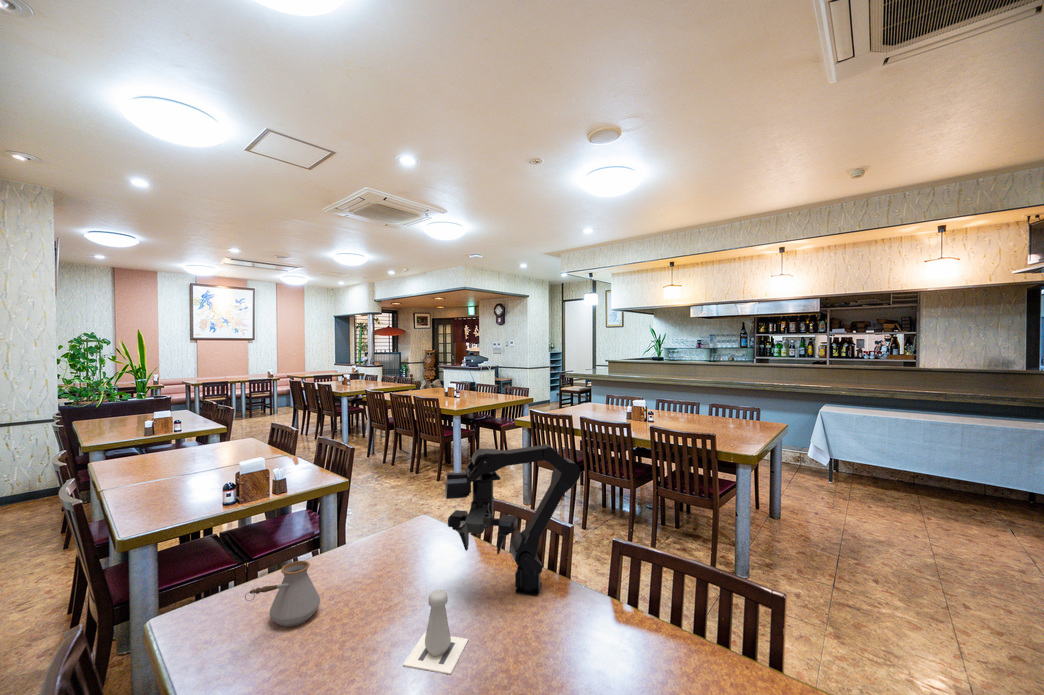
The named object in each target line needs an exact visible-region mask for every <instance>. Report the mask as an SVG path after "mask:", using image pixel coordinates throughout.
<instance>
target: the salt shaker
mask: <svg viewBox="0 0 1044 695" xmlns="http://www.w3.org/2000/svg"><path fill="white" fill-rule="evenodd" d="M448 598H449V597H448V593H447V592H446V591H445V590H443V589H435V590H433V591H431V592H430V594H429V595H428V598H427V599H428V606H430V610H429V611H430V612H429V617H428V622H427V627H426V631H425V632H426V637H425V646H426V649H427V651H428V653H429V654H430V655H432V656H433V657H437V656H442V655H443V654H444V653H445V652H446V651H447V649H448V647H449V645H450V642H451V637H450V636H451V633H450V632H451V631H450V628H449V620H448V616H447V608H446V605H447V604H448V600H449V599H448Z"/></svg>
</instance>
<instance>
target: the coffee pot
mask: <svg viewBox="0 0 1044 695" xmlns="http://www.w3.org/2000/svg"><path fill="white" fill-rule="evenodd" d="M310 565H311V564H310V562H308V561H306V560H297V561H292V562H289V563H285V564H284V565H283V566H282V567H281V569H280V570H281V573H282V574H283V579H282V581H281V584H275V585H265V586H262V587H256V588H254V589H251V590H249V591H247V592H246V593H245V595H244V600H246V601H247V602H250V601H253V600H254V598H255V597H256V594H257V595H258V594H260V593H269V592H272V591H274V590H277V593H276V595H275V597H274V599H273V602H272V604H271V606H270V609H269V616H270V618H271V619H272V621H273V622H275V623H276V624H278V625H279V626H282V627H295V626H298V625H301V624H303V623H306V621H308V620H310V619H311V617H312V616H313V615H314V614H315V612H316V611H317V610H318V609H319V606H320V604H321V597H320V595H319V593H318V591H317V590H316V587H315V586H314V583H313V582H312V579H311V577H310V576H309V574H308V569H309V568H310ZM247 594H251V595H253V598H251V600H249V599H247V598H246V597H247Z"/></svg>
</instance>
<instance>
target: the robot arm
mask: <svg viewBox="0 0 1044 695" xmlns="http://www.w3.org/2000/svg"><path fill="white" fill-rule="evenodd" d="M543 461H546V462H548V463H549V464H550V465H551V466H553V470H552V473H551V479H550V484H549V486H548V488H547V490H546V492H545V493H544V496H542V499H541V501H540V503H539V504H538V507H537V508H536V509H535V512H534V513H533V516H532V517H531V519H530V521H529V522H528V525H527V526H526V528H525V529H523V530H522V531H520V530H519V529H517V530H516V528H517V526H518V517H517V516H516V515H511V514H502V516H501V517H500V518H495V517H494V515H495V511H494V501H495V497H494V481H500V480H501V477H500V474H498V473H497V471H499V470H501V469H502V468H505V467H509V466H516V465H521V464H529V463H536V462H543ZM581 474H582V472H581V468H580V466H579V465H578V464H576V463H575V462H574V461H573V460H572V459H570V458H568V457H563V456H561V455H560V454H559V453H558V452H557V451H556V450H555V449H554V448H553V446H551V445H550V444H547V443H543V444H541V445H535V446H528V447H527V446H526V447H520V448H512V449H505V450H504V449H495V448H478V449H476V450H475V451H474V453H473V454H472V455H471V461H470V462H469V464H468V465H467V466H466V468H465V469H464V472H447V473H446V478H445V481H446V482H445V484H444V485H445V486H444V493H445V494H444V495H445V500H453V499H463V498H468V496H470V494H471V493H472V501H471V503H470V509H469V512H468V510H460V509H459V510H458V509H455V510H454V511H453V512H452V513H451V514H450V515H449V516H448V517H447V527H448V528H452V530H453V531H456V532H457V533H458V534H459V536H460V539H461V541H462V544H463V546H464V550H465V551H466V552H467V551H468V550H469V545H470V543H469V540H470V536H469V535H470V534H471V533H473V534H477V535H481V534H483V533H484V532H485V530H487V529H491V528H492V526H493V527H498V530H499V531H498V532H497V545H496V547H497V548H496V553H497V554H496V555H500V553H501V550H502V547H503V544H504V541H505V539H506V536H509V535H510V534H513V533H514V532H515V534H514V536H513V538H512V539H511V540H510V541H509V543H510V547H509V550H510V553H511V555H512V556H511V557H512V558H513V560H514V562H515V564H516V565H517V567H516V568H517V569H516V571H515V573H514V574H515V579H514V580H515V581H514V584H515V586H514V587H515V593H516V594H522V595H529V596H535V597H537V596H538V597H539V594H540V590H541V589H542V586H543V585H542V584H543V582H541V573H542V572H543V569H544V567H543V566H544V565H543V564H542V562H541V561H540V559H539V557H538V555H537V554H538V551H539V547H540V546H539V545H540V539H541V537H542V535H543V534H544V531H545V529H546V527H547V526H548V524H549V523H550V521H551V518H552V516H553V514H554V513H555V511H556V509H557V508H558V506H559V504H560V503H561V500H562V498H563V496H564V495H565V494H566V493H567V492H568V491H570V490H571V489H572V488H573V487H574V486H575V484H576V483H577V482H578V480H579V479H580V477H581ZM515 530H516V531H515Z"/></svg>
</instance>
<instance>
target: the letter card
mask: <svg viewBox="0 0 1044 695" xmlns="http://www.w3.org/2000/svg"><path fill="white" fill-rule="evenodd" d="M426 632H427V631H424V632H423V635H422V636H421V637H420V639H419V641H417V643H416V645H415V646H414V647H413V649H412V650H411V652H410V653H409V655H408V656H407V657H406V659H405V661H404V662H403V663H402V667H407V668H412V669H417V670H423V671H428V672H434V673H439V674H445V675H452V673H453V671H454V669H455V667H456V666H457V664H458V661H459V660H460V659H461V658H460V657H461V656H462V653H463V651H464V650H465V648H466V646H467V643H468V642H469V638H465V637H458V636H452V635H450V637H451V642H450V645H449V647H448V649H447V651H446V652H445V653H444V654H443V655H442V656H437V657H433V656H432V655H430V654H429V653H428V651H427V649H426V646H425V637H426Z"/></svg>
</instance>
